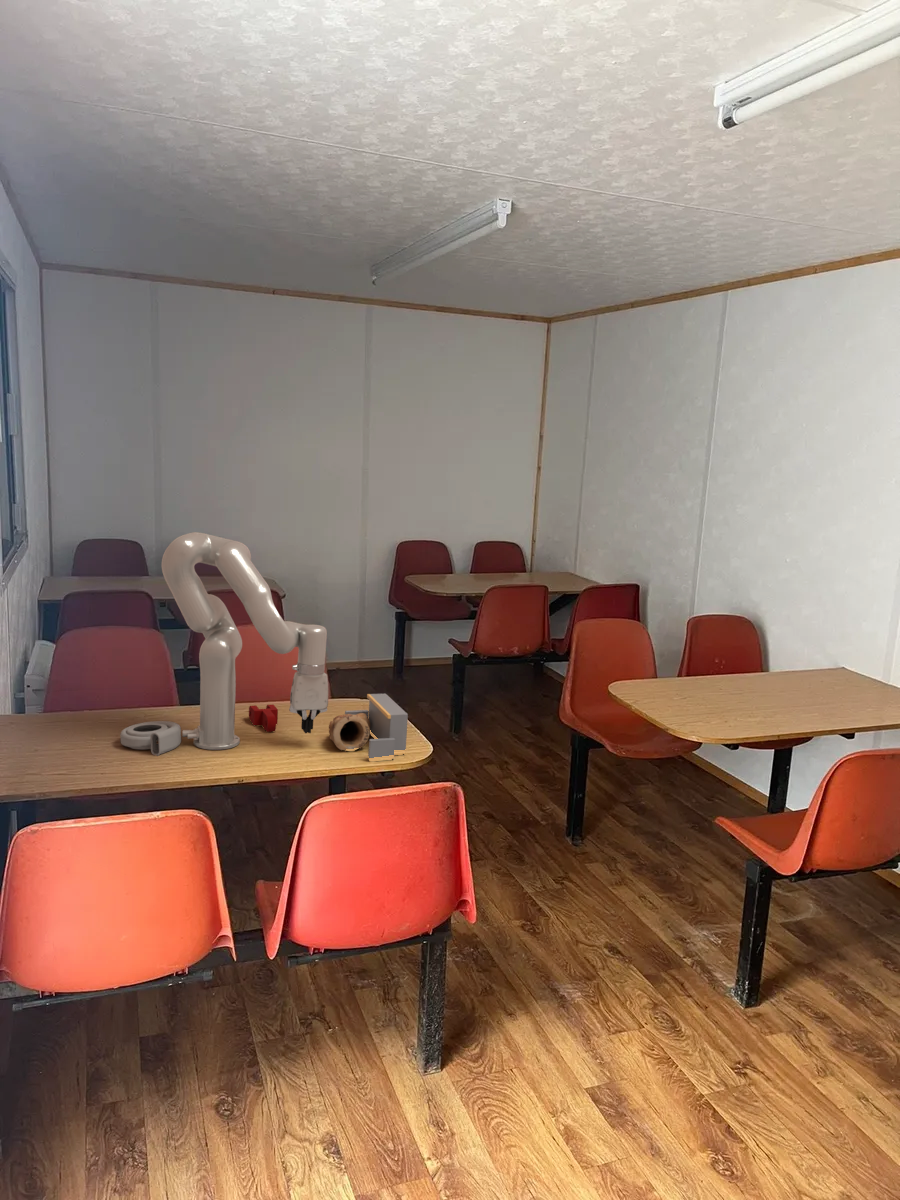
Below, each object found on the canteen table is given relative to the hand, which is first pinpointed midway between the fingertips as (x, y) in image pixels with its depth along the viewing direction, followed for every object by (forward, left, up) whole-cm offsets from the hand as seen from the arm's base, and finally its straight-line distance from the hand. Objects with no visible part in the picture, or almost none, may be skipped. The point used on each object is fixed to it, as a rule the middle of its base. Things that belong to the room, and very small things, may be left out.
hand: (306, 731), depth 247 cm
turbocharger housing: (-41, +10, -5) cm, 42 cm away
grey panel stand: (+20, 0, -5) cm, 21 cm away
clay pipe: (+13, +1, -5) cm, 14 cm away
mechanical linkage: (-8, +22, -5) cm, 24 cm away
